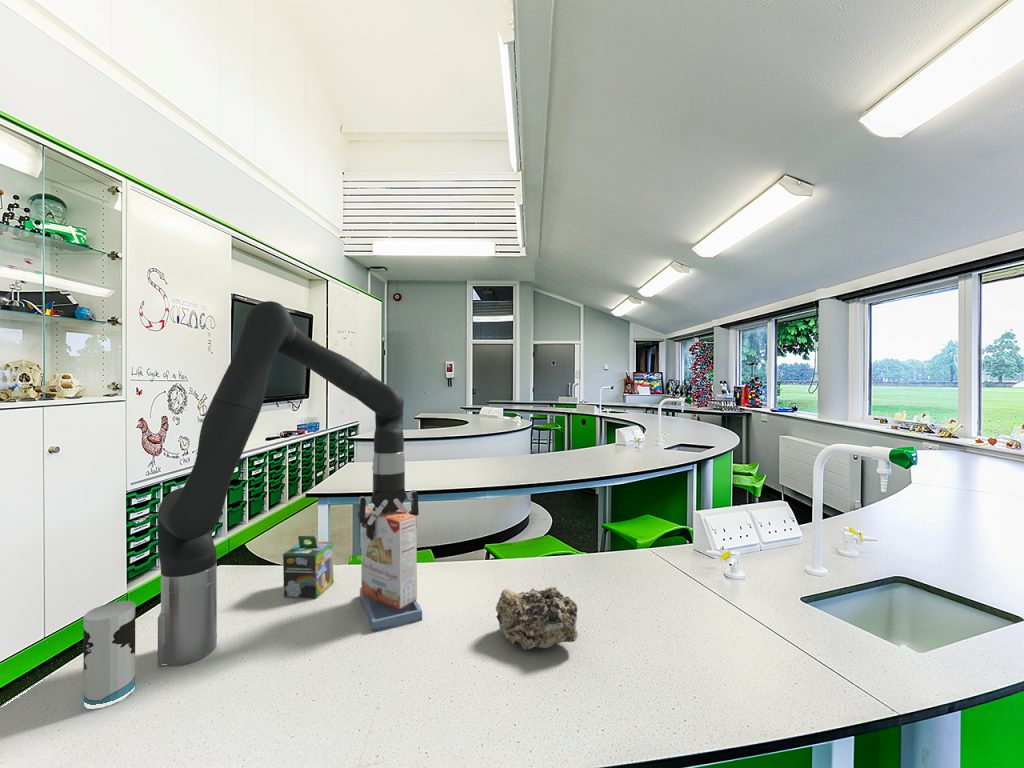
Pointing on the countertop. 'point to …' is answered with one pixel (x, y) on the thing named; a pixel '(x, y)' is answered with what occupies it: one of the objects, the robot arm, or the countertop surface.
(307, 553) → the chalk box
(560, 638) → the mineral specimen
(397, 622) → the tray
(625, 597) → the countertop surface
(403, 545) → the cracker box
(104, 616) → the white cylindrical canister
